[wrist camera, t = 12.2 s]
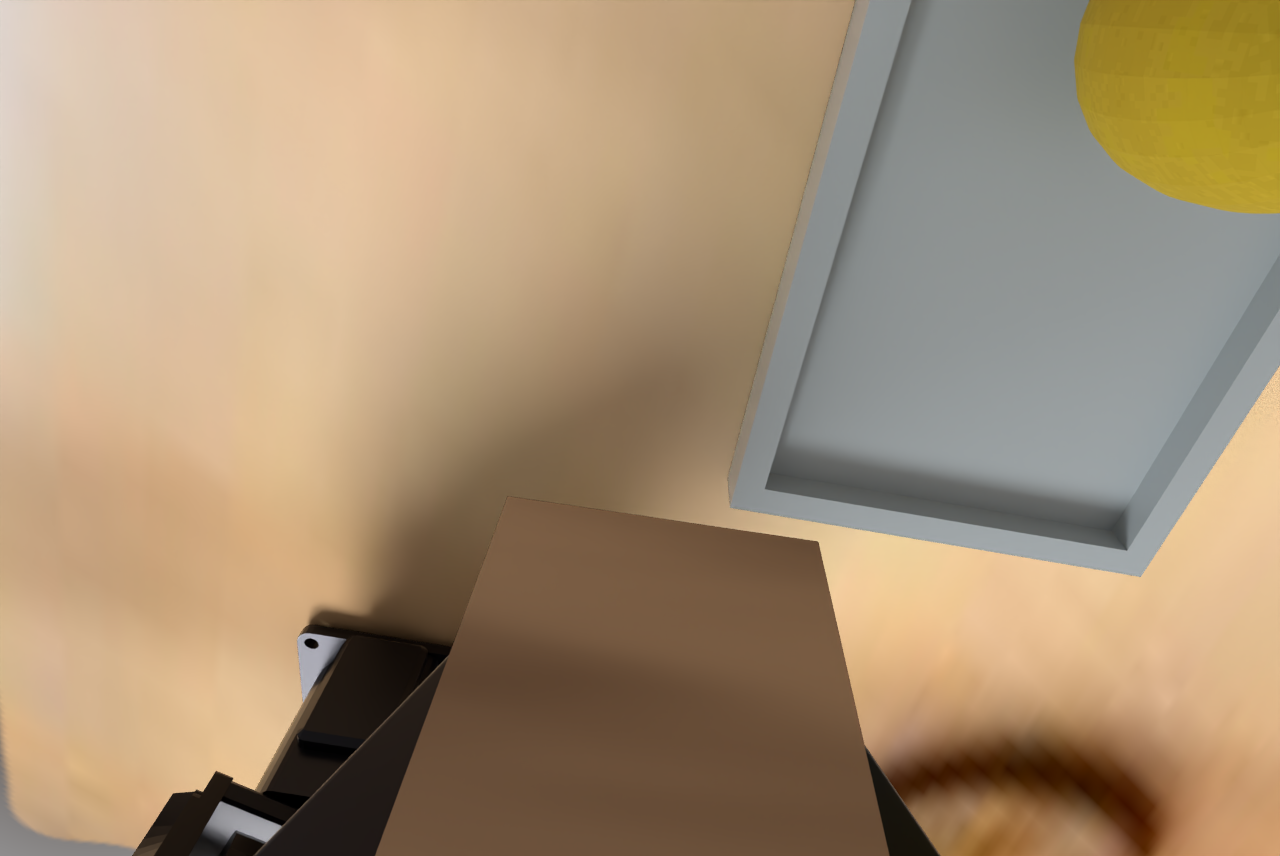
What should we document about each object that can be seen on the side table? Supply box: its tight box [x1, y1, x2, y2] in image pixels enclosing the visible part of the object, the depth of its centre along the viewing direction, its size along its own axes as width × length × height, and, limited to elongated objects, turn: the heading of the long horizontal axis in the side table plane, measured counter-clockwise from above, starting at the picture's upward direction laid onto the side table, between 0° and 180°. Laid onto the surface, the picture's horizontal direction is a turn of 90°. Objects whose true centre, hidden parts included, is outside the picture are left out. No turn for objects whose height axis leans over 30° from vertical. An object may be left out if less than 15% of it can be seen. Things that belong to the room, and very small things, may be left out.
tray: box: [728, 0, 1280, 577], centre depth 17 cm, size 18×12×2 cm, turn 171°
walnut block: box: [375, 496, 889, 856], centre depth 8 cm, size 4×4×5 cm
